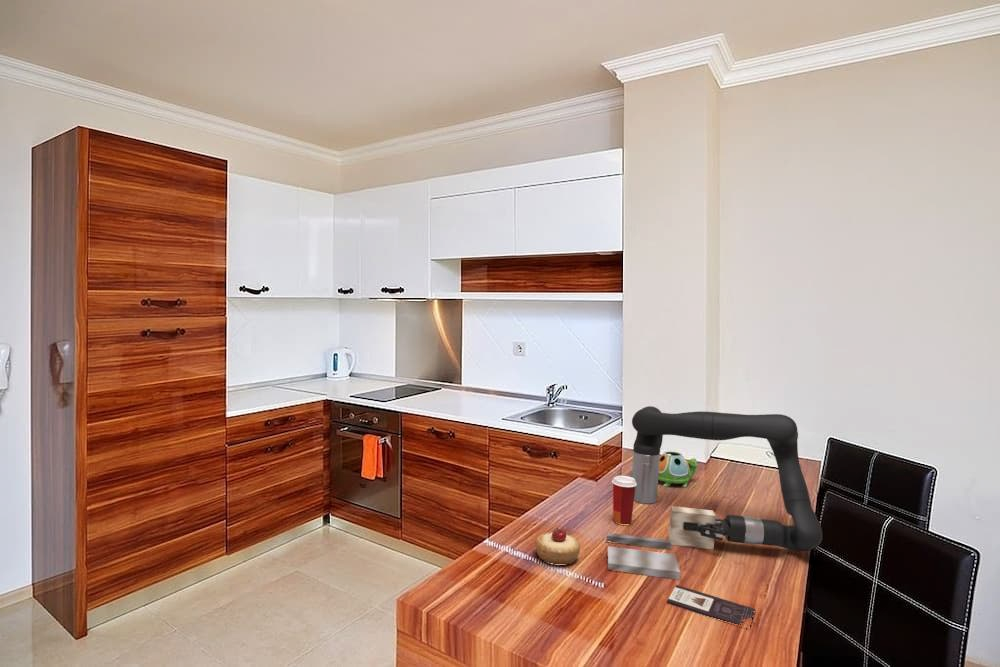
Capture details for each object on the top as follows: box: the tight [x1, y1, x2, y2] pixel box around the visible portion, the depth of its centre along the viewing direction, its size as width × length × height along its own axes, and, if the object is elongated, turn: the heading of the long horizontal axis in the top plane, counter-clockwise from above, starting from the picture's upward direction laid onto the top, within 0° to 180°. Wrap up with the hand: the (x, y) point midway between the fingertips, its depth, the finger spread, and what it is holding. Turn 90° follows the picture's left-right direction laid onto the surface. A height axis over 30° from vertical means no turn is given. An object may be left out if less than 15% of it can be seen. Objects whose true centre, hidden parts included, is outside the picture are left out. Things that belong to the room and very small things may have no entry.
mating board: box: [606, 532, 681, 581], centre depth 151 cm, size 18×19×2 cm
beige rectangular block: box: [668, 505, 717, 550], centre depth 161 cm, size 12×4×10 cm, turn 80°
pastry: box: [535, 527, 581, 564], centre depth 149 cm, size 12×12×9 cm
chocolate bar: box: [666, 584, 756, 625], centre depth 128 cm, size 9×1×18 cm
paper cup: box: [611, 475, 637, 525], centre depth 175 cm, size 8×8×14 cm
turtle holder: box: [658, 450, 699, 489], centre depth 216 cm, size 12×18×12 cm
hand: (682, 522), depth 161 cm, fingers closed on beige rectangular block, 4 cm apart
